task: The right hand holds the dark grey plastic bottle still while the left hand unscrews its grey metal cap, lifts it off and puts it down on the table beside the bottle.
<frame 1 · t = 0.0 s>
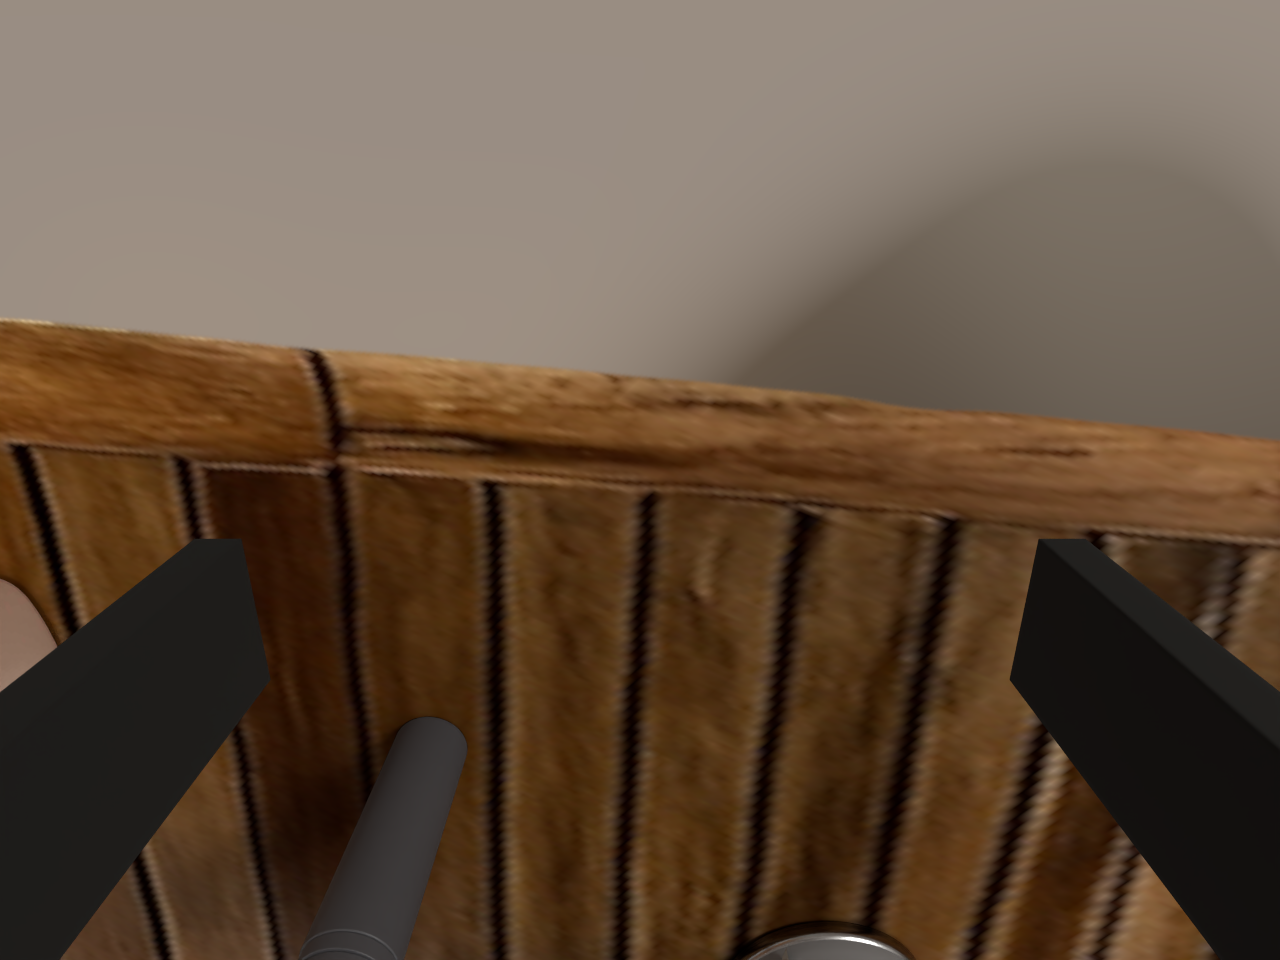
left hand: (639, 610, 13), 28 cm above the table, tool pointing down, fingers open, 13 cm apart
bottle: (431, 745, 48), on the table
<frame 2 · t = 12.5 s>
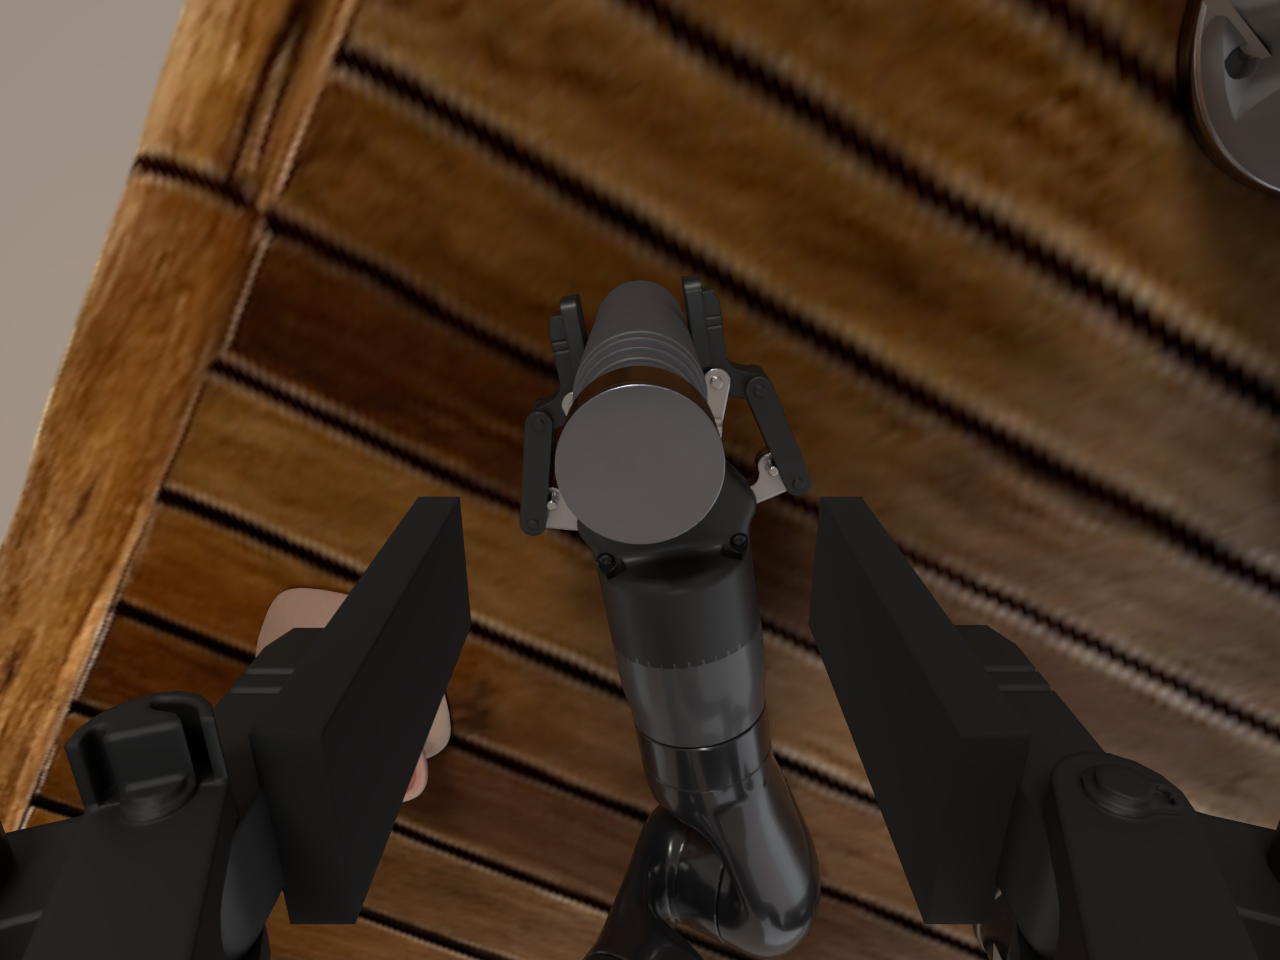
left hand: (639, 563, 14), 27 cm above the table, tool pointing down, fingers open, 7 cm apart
right hand: (629, 289, 32), fingers closed on bottle, 4 cm apart
cap: (640, 463, 20), point 21 cm above the table, screwed on, not yet turned
bottle: (639, 325, 39), on the table, touching right hand
anatomical model: (354, 679, 47), on the table
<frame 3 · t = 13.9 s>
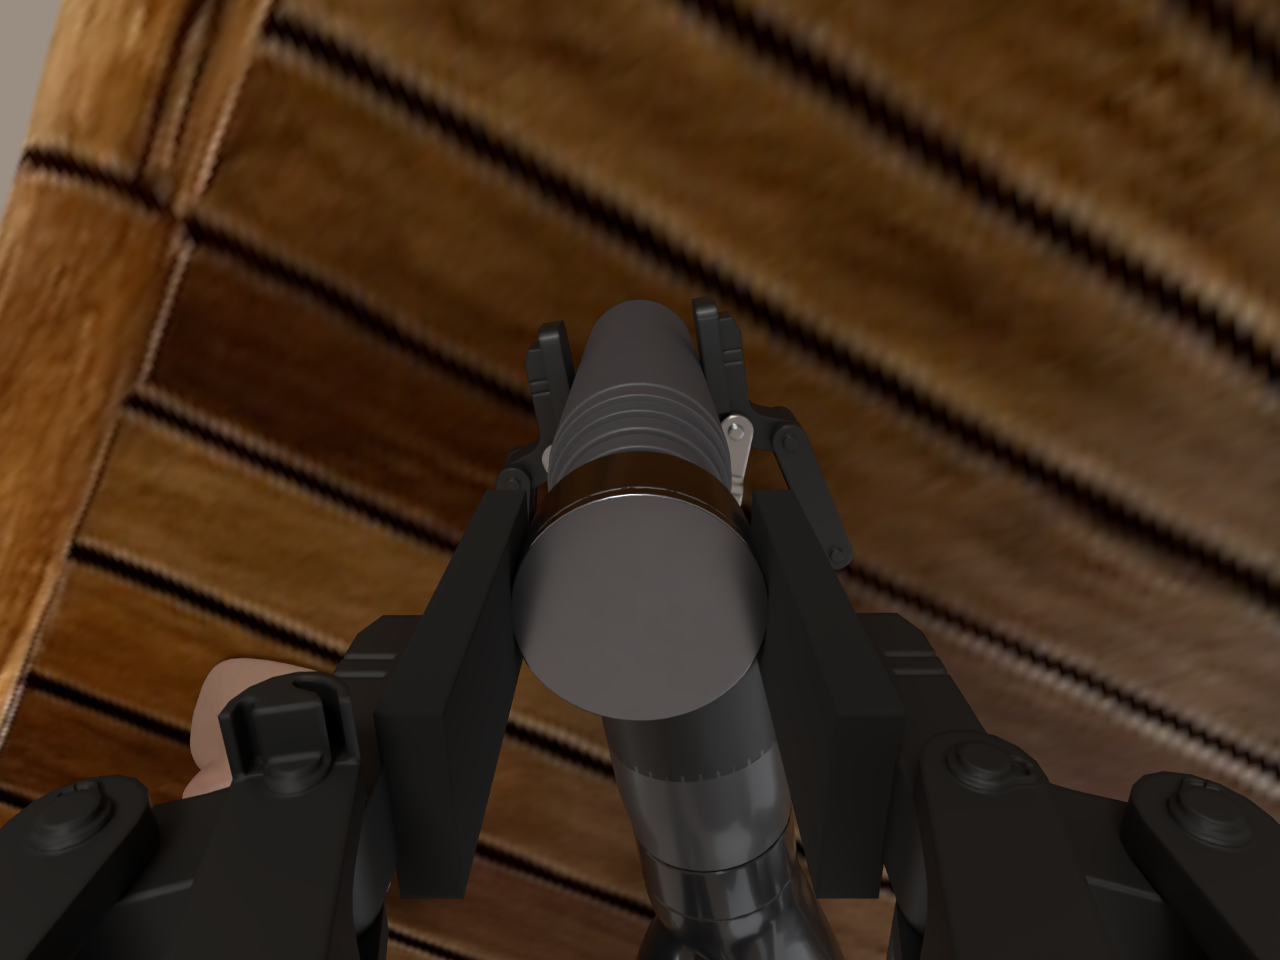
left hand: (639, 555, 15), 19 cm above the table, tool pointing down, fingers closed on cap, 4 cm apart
cap: (639, 605, 13), point 21 cm above the table, screwed on, not yet turned, touching left hand
bottle: (639, 353, 33), on the table, touching right hand
anatomical model: (307, 759, 41), on the table
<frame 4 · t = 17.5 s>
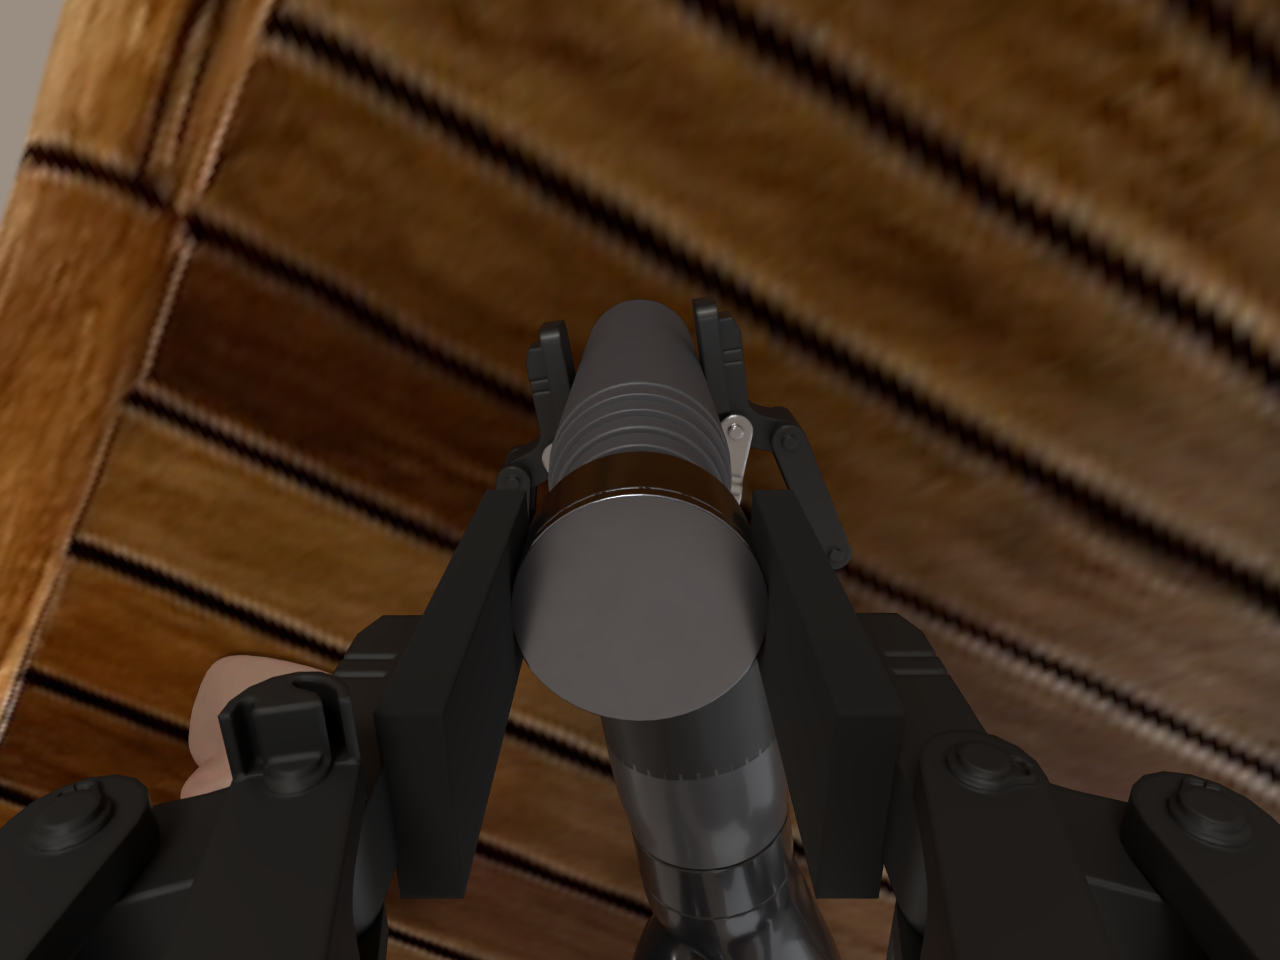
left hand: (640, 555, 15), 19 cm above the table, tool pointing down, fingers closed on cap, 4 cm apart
cap: (639, 605, 13), point 21 cm above the table, turned 107° so far, risen 0.1 cm, still on its thread, touching left hand
bottle: (640, 353, 33), on the table, touching right hand
anatomical model: (305, 756, 41), on the table
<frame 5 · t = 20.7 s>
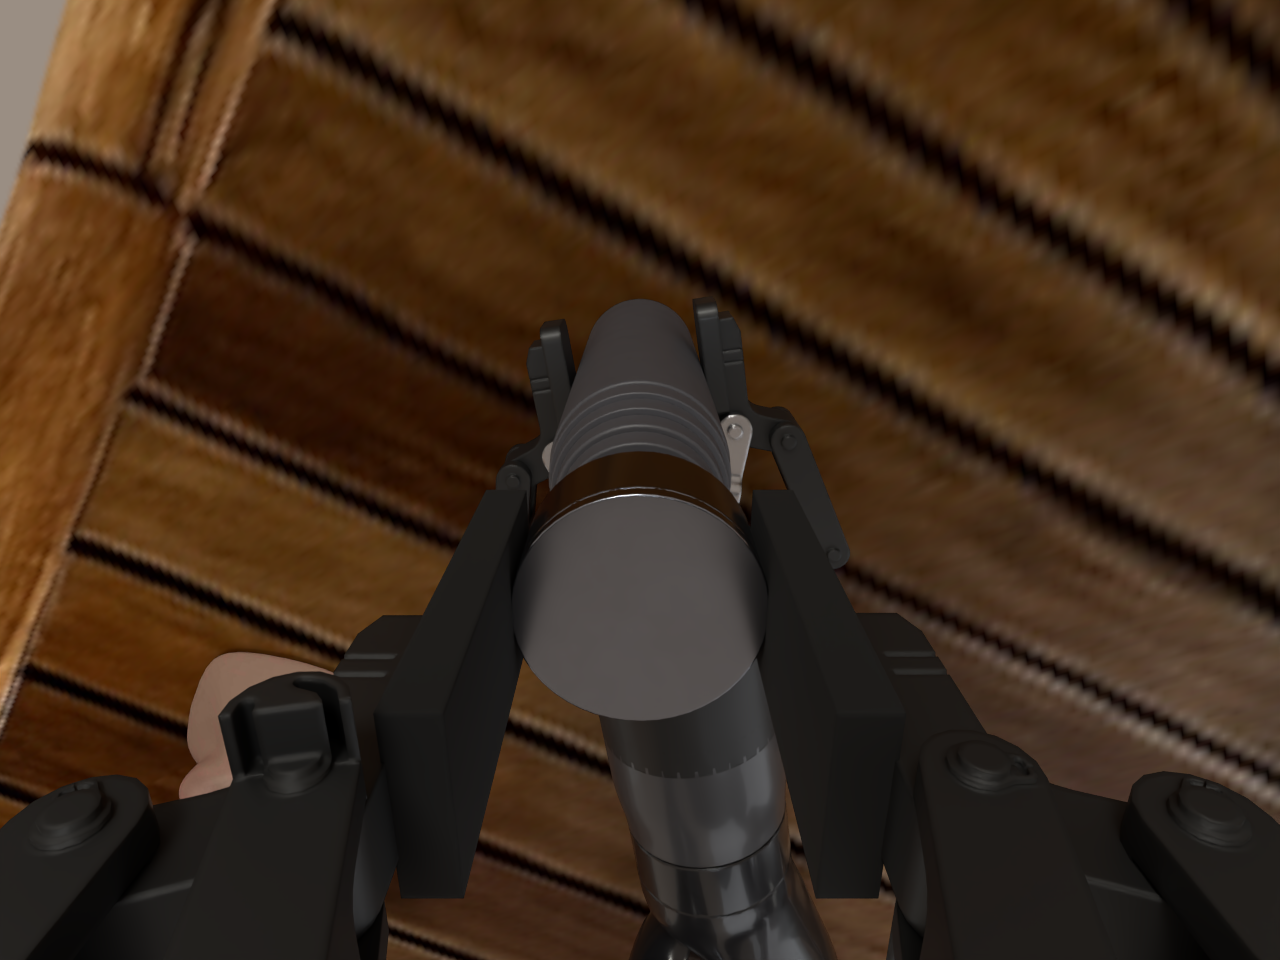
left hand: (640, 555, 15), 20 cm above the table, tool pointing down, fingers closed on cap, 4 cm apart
cap: (639, 605, 13), point 21 cm above the table, turned 215° so far, risen 0.2 cm, still on its thread, touching left hand
bottle: (640, 352, 33), on the table, touching right hand
anatomical model: (303, 754, 41), on the table
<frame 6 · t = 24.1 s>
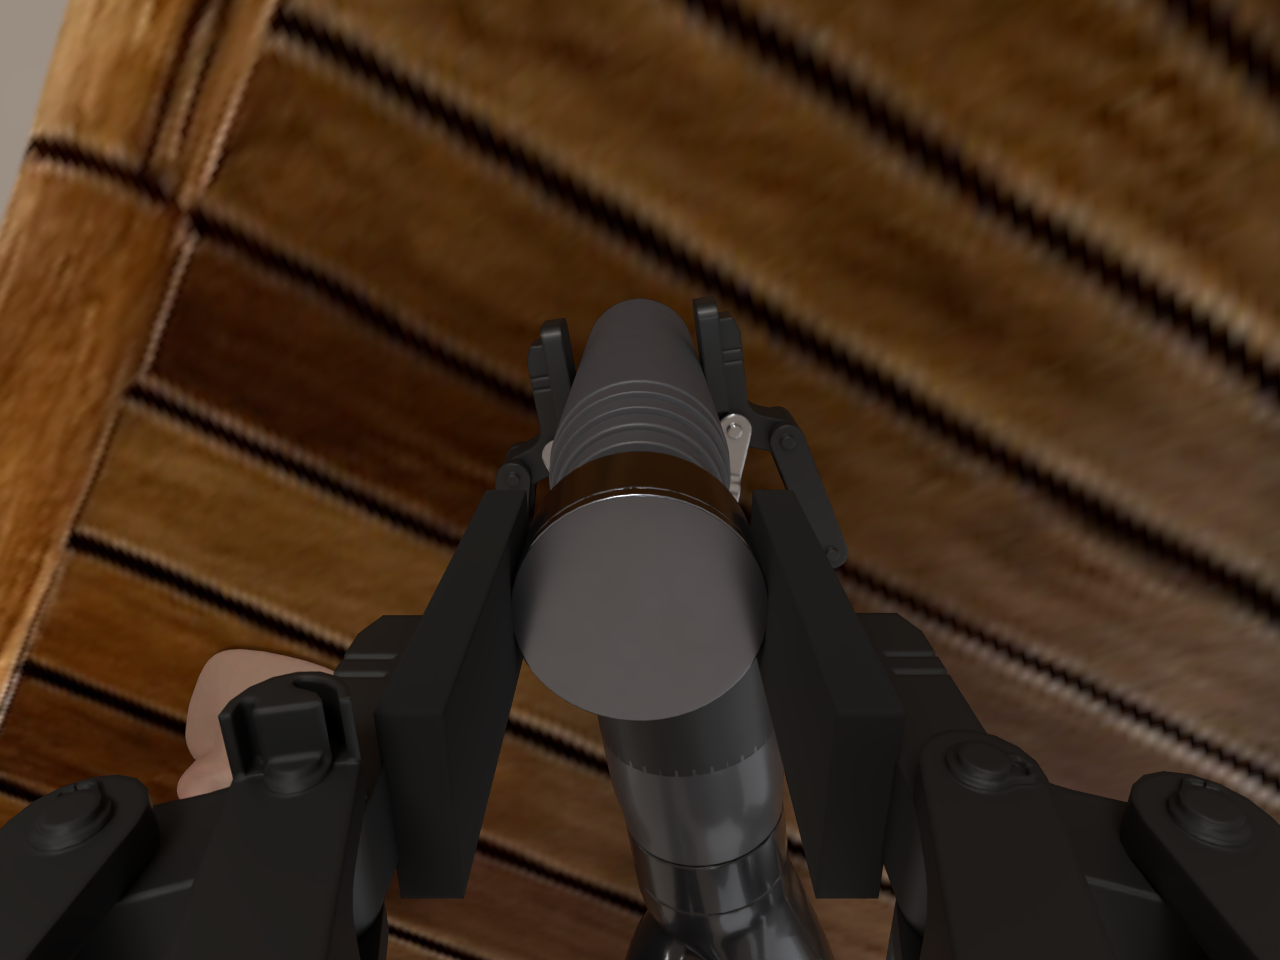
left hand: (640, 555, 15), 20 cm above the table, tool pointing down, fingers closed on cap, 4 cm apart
cap: (639, 605, 13), point 22 cm above the table, turned 322° so far, risen 0.3 cm, still on its thread, touching left hand
bottle: (640, 352, 33), on the table, touching right hand
anatomical model: (301, 751, 41), on the table
when the left hand's fingers open (1 cm above the table, at t = 30.6 s): cap stays where it is, point 2 cm above the table.
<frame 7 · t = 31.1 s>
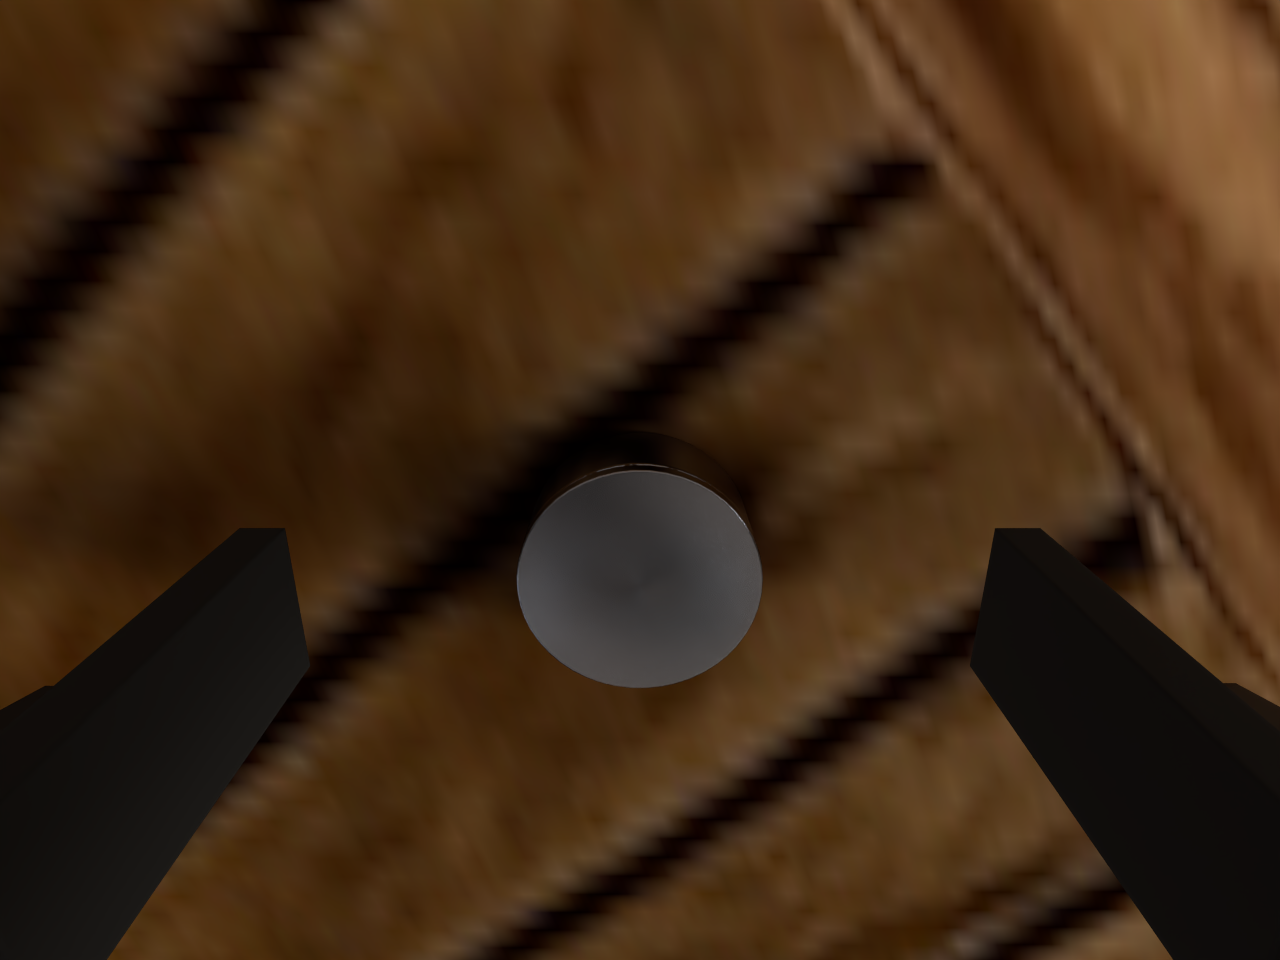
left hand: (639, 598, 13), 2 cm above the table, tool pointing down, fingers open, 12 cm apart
cap: (639, 577, 14), point 2 cm above the table, off its thread
when the right hand's fingers open (7 cm above the table, at t = 31.9 s): bottle stays where it is, on the table.
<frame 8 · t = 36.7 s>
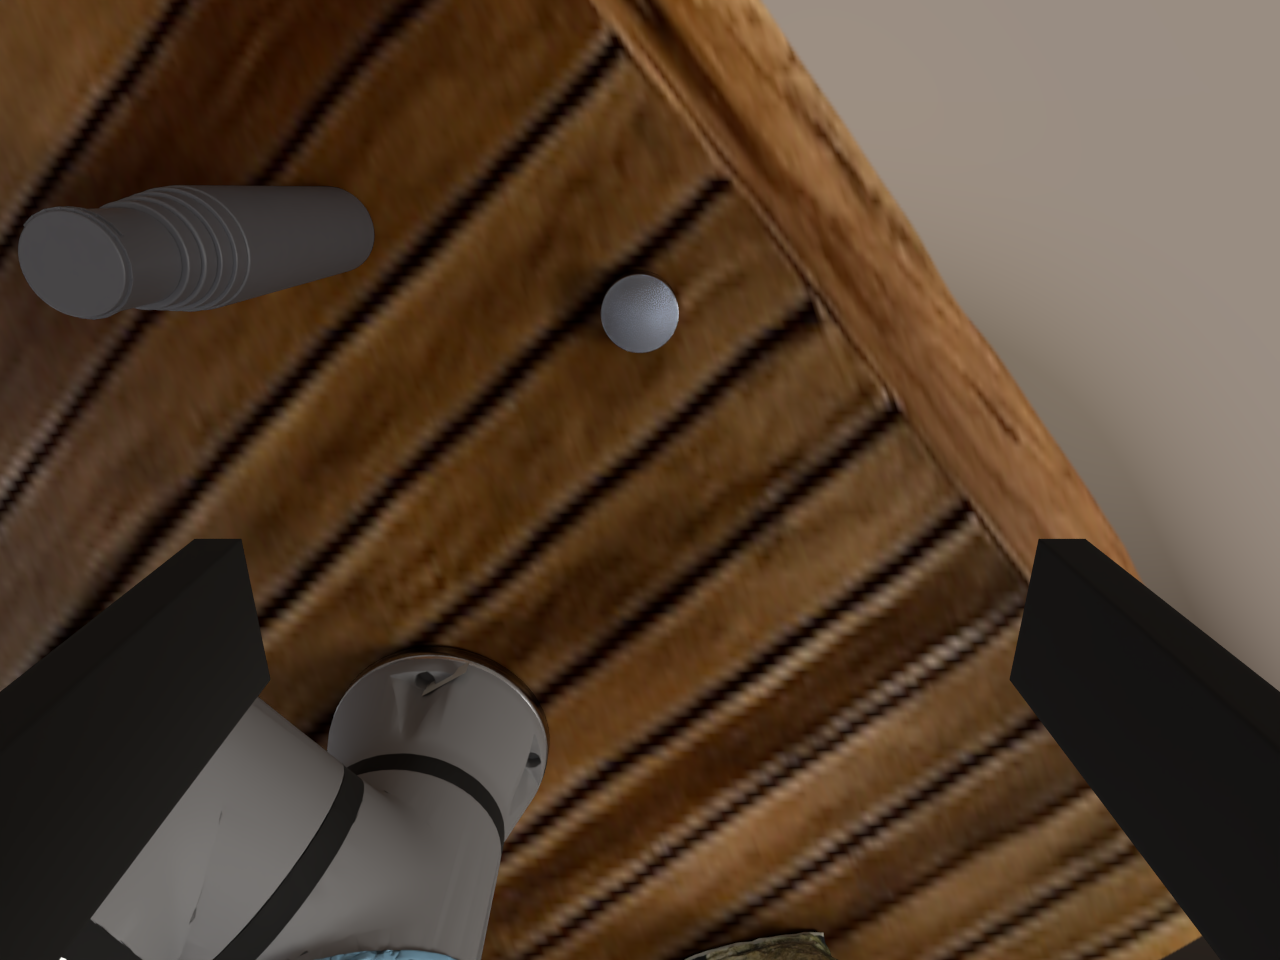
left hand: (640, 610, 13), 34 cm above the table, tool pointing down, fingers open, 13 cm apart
cap: (639, 313, 43), point 2 cm above the table, off its thread
bottle: (333, 230, 43), on the table
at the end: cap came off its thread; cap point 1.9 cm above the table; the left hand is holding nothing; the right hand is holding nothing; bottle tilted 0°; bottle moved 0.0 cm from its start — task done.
